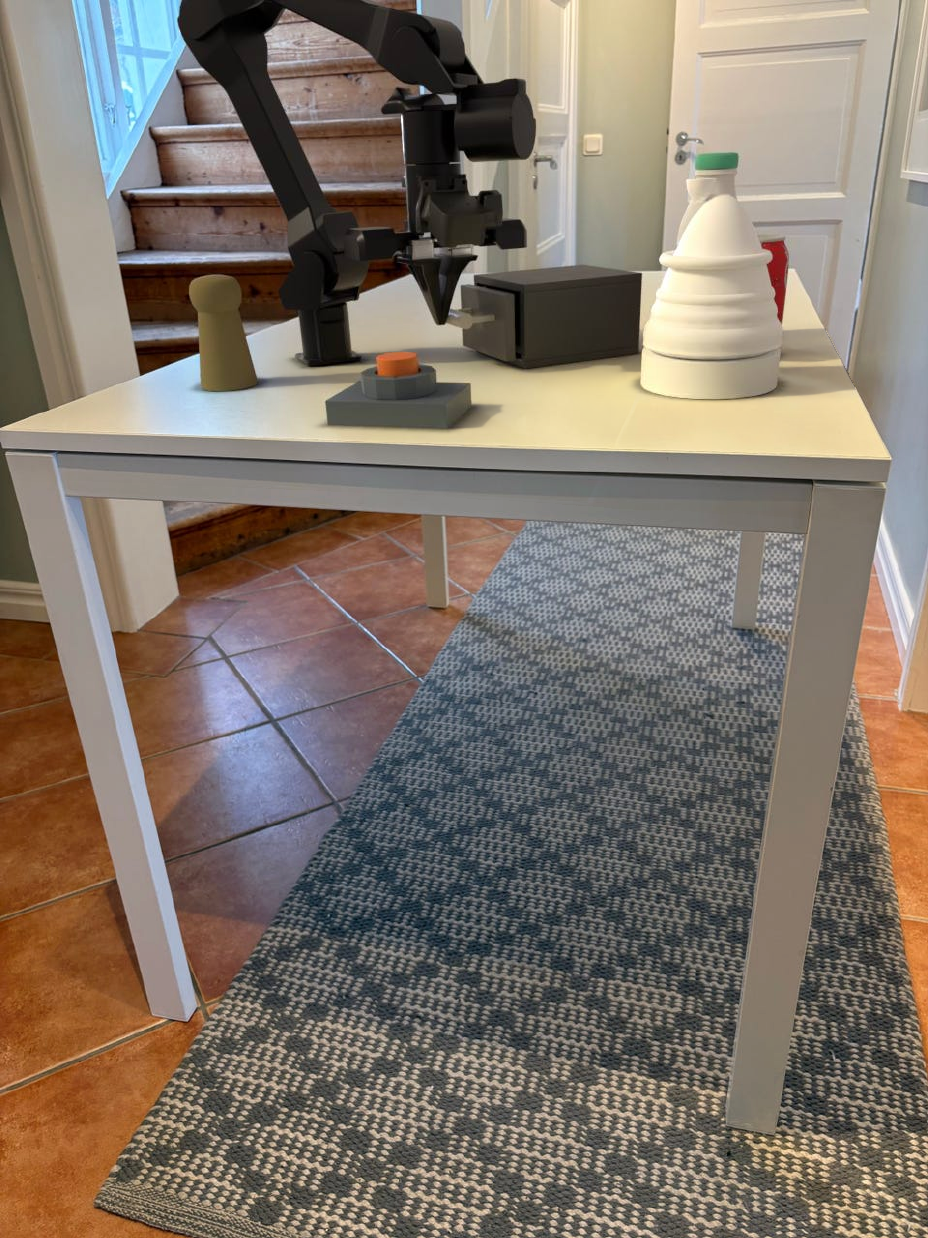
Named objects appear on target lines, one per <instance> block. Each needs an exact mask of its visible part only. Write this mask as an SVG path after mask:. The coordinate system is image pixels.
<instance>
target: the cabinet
mask: <svg viewBox="0 0 928 1238" xmlns="http://www.w3.org/2000/svg"><path fill="white" fill-rule="evenodd" d="M642 283H643V273H642V272H637V271H630V270H623V269H617V268H609V267H601V266H595V265H588V264H575V265H563V266H555V267H553V266H551V267H544V268H543V267H541V268H532V269H522V270H512V271H500V272H499V271H498V272H488V273H479V274H478V273H477V274H473V285H475V286H479V287H483V286H484V285H490V286H495V287H499V288H504V289H509V290H513V291H518V292H521V350H522V354H519V353H516V352H515V360H514V361H504V360H501V359H498V358H495V357H493V356H490V355H487V354H484V353H481V352H479V351H477V352H478V353H481V354H483V355H486V356H488V357H492V358H494V359H497V360H500V361H502V362H505V363H508V364H511V365H513V366H516V367H519V368H522V369H525V370H526V369H532V368H533V369H534V368H540V367H549V366H555V365H562V364H564V365H565V364H570V363H578V362H585V361H591V360H598V359H599V360H600V359H606V358H614V357H620V356H621V357H622V356H628V355H629V356H630V355H635V354H639V349H640V348H639V347H640V326H641V307H642V306H641V303H642V287H643V286H642Z"/></svg>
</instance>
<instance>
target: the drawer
mask: <svg viewBox="0 0 928 1238" xmlns="http://www.w3.org/2000/svg"><path fill="white" fill-rule="evenodd" d="M460 302H461V303H460V305H461V308H457V309H455V308H454V309H453V308H450V310H449V313H448V317H447V320H446V324H448V325H451V326H454V327H456V328H461V330H462V347H465V348H468V349H470V350H473V351H476V352H478V351H479V352H478V353H480V352H481V354H483V353H484V354H483V355H486V354H487V355H486V356H489V355H490V356H489V357H491V356H493V357H492V358H494V357H495V358H494V359H497V358H498V359H497V360H500V359H501V360H500V361H502V360H504V361H503V362H505V361H514V360H515V352H516V353H519V354H522V350H521V292H518V291H513V290H509V289H504V288H499V287H495V286H490V285H484V286H483V287H479V286H475V285H474V284H469V283H468V284H461V285H460Z"/></svg>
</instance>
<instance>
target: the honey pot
mask: <svg viewBox="0 0 928 1238" xmlns="http://www.w3.org/2000/svg"><path fill="white" fill-rule="evenodd" d="M715 184H716V178H699V179H696V178H687V179H686V189H687V193H688V195H689V197H690V198H691V199H692V200H694V201H695V202H698V203H701V202H706V203H705V204H704V205H703V206H702V207H701V208H700V209H699V210H698V211H697V213H696V214H695V216H694V217H693V219H692V220H691V222H690V223H689V225H688V227H687V229H686V230H685V232H684V234H683V236H682V238H681V240H680V242H679V244H678V246H677V248H676V247H675V249H673V250H667V251H664V252H662V253H661V255H660V256H659V264H660V265H662V266H663V267H666V268H667V270H666V272H665V275H664V278H663V280H662V282H661V286H660V287H659V288H658V289H657V291H656V293H655V303H654V304H653V305H652V307H651V311H650V317H649V319H648V320H647V322H646V323H645V325H644V327H643V332H642V339H643V340H642V346H643V348H642V350H641V362H640V363H641V364H640V365H641V366H640V384H639V385H640V386H641V387H642V389H644V390H646V391H647V392H650V393H654V394H658V395H660V396H666V397H673V398H679V399H681V398H682V399H691V400H731V399H734V400H735V399H742V398H750V397H756V396H760V395H764V394H767V393H769V392H772V391H774V390H775V389H776V388H777V386H778V380H779V378H778V377H779V370H780V361H781V355H782V354H781V353H782V352H781V348H780V347H781V346H782V338H783V334H784V333H783V332H784V331H783V324H782V325H781V323H780V321H779V319H778V318H777V313H778V308H777V305H776V303H775V301H774V297H775V290H774V288H773V287H772V286H771V281H770V277H769V273H768V269H767V265H766V264H767V263H769V262H770V261H771V260H772V253H771V252H770V251H769V250H765V249H762V247H761V244H760V241H759V238H758V235H759V234H758V232H757V230H756V228H755V226H754V223H753V221H752V219H751V217H750V215H749V213H748V212H747V210H746V209H745V207H744V206H743V204H742V203H741V202H740V201H739V200H738V198H737V199H735V198H734V197H732V196H730V194H712V192H713V190H714V187H715Z"/></svg>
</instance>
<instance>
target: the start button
mask: <svg viewBox="0 0 928 1238" xmlns="http://www.w3.org/2000/svg"><path fill="white" fill-rule="evenodd" d="M375 359H376V367H377V371H378V375H381V376H405V375H412V374H416V373H419V372H418V364H419V358H418V354H417V353H416V352H411V351H393V352H386V353H380V354H378V355H376V358H375Z"/></svg>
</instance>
